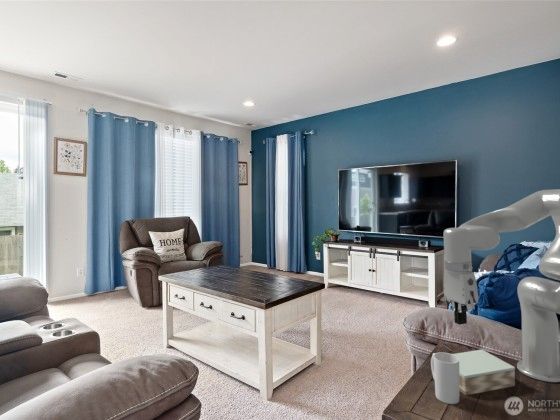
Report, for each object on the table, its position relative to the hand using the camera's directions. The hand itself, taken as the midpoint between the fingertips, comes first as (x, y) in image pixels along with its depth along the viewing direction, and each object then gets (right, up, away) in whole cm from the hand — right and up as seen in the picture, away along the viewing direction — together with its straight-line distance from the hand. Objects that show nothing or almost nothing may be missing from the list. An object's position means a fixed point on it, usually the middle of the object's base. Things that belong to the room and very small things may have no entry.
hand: (460, 323), depth 104 cm
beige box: (+5, -19, 0) cm, 19 cm away
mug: (-9, -19, -7) cm, 22 cm away
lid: (+4, -13, 0) cm, 14 cm away
